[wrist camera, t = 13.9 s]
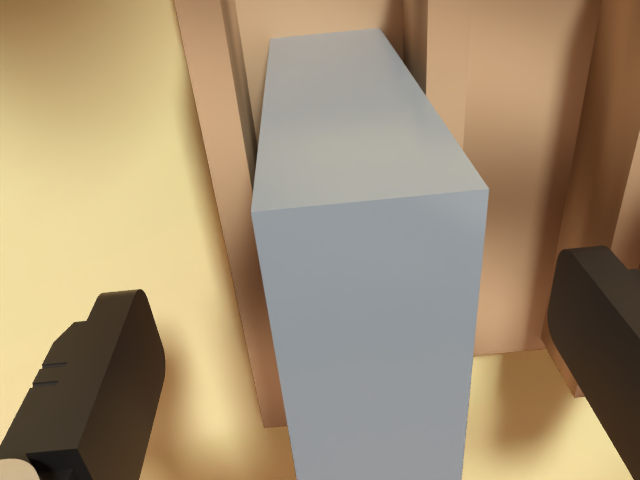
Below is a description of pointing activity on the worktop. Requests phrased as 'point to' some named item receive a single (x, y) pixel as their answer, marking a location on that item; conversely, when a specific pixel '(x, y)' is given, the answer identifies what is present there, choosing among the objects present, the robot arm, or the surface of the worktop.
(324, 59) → the slate grey rectangular block
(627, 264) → the dish rack
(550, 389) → the worktop surface
